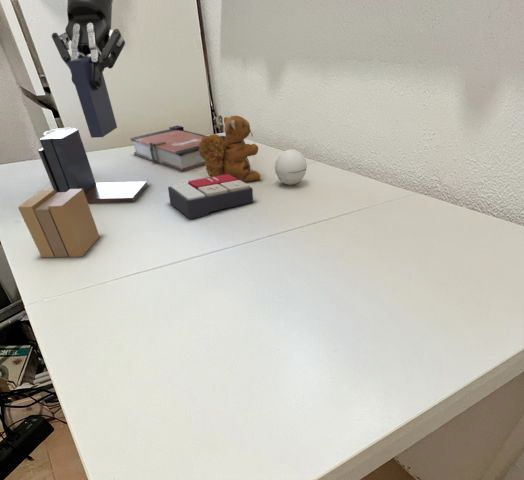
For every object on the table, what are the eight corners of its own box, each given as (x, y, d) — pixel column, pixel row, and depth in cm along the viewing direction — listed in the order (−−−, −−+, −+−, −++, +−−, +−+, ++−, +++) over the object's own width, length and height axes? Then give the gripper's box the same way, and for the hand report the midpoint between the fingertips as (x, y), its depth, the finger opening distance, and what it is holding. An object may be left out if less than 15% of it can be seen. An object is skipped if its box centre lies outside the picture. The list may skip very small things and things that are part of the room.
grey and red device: (253, 184, 80) (186, 197, 74) (253, 205, 83) (189, 219, 77) (229, 171, 87) (166, 182, 81) (230, 191, 90) (169, 203, 84)
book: (132, 155, 116) (127, 136, 112) (180, 142, 124) (177, 125, 121) (180, 172, 101) (176, 151, 97) (231, 156, 109) (229, 137, 106)
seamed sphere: (279, 191, 87) (278, 156, 82) (272, 180, 92) (271, 147, 87) (321, 185, 88) (323, 151, 83) (311, 175, 93) (312, 142, 89)
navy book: (91, 137, 75) (67, 61, 67) (106, 128, 80) (86, 56, 72) (102, 137, 74) (80, 60, 66) (117, 127, 80) (98, 55, 72)
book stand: (53, 204, 88) (27, 141, 79) (74, 187, 96) (53, 129, 87) (133, 202, 86) (116, 137, 77) (148, 185, 94) (133, 125, 86)
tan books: (41, 257, 68) (17, 207, 62) (62, 237, 74) (42, 189, 68) (82, 256, 67) (62, 205, 61) (99, 236, 73) (82, 188, 67)
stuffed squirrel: (263, 180, 93) (260, 118, 84) (206, 188, 91) (197, 125, 82) (254, 168, 100) (250, 110, 91) (200, 175, 98) (192, 116, 89)
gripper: (42, -19, 68) (37, 73, 67) (116, -25, 67) (113, 69, 66) (67, 19, 76) (63, 103, 75) (134, 14, 75) (131, 100, 74)
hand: (86, 86), depth 71 cm, fingers closed on navy book, 2 cm apart
